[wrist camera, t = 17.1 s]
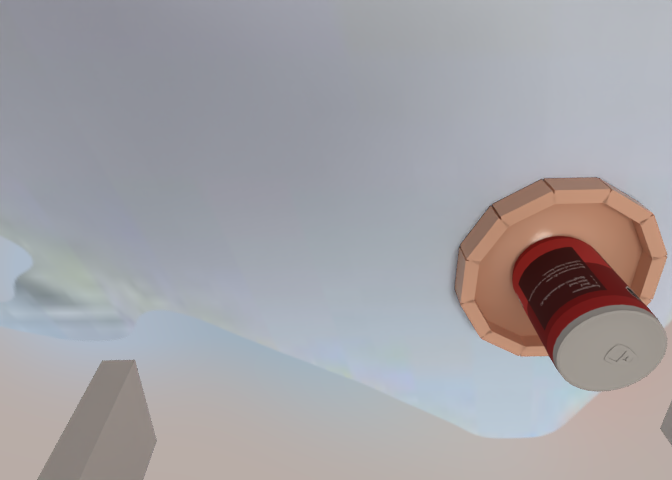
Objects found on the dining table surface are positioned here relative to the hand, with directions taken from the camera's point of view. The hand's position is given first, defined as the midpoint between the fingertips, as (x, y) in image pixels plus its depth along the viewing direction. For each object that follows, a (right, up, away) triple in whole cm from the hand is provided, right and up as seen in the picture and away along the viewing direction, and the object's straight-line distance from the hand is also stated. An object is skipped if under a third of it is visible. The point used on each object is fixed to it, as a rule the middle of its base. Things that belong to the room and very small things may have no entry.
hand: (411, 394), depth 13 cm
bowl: (+18, +1, +35) cm, 39 cm away
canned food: (+18, +1, +34) cm, 39 cm away
